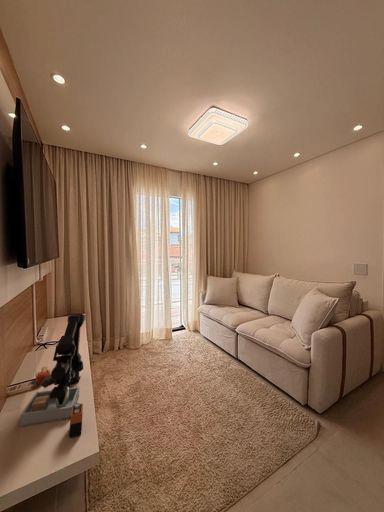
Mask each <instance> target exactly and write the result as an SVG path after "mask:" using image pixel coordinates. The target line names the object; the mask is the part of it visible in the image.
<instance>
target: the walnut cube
mask: <svg viewBox="0 0 384 512" xmlns="http://www.w3.org/2000/svg"><path fill="white" fill-rule="evenodd" d="M48 402H49V396H41V397H37V398H36V399H35V401H34V402H33V404H32V412H34V411H41V410H46V409H47V407H48Z"/></svg>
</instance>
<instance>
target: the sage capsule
mask: <svg viewBox="0 0 384 512" xmlns="http://www.w3.org/2000/svg"><path fill="white" fill-rule="evenodd" d="M67 390H68V392H67V394H66V396H65V399H64V401H63V403H62V405H59V402H58V399H56V407H58V408H61V407H64V406H66V405H67V404H68V398H69V387H68V389H67Z"/></svg>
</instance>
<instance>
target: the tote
mask: <svg viewBox="0 0 384 512" xmlns="http://www.w3.org/2000/svg"><path fill="white" fill-rule="evenodd" d="M51 391H52V389H51V390H42V391H36V392H35V393H34V395H33V396H32V397H31V399H30V401H29V402H28V403H27V405H26V406H25V408H24V409H23V411H22V412H21V413H20V418H19V427H25V426H32V425H38V424H42V423H49V422H50V423H51V422H57V421H63V420H64V421H65V420H70V416H71V409H72V406H73V405H75V404H76V403H77V402H78V401H79V397H80V387H79V386H77V387H70V388H69V398H68V404H67V405H66V406H64V407H61V408H58V407H56V399H57V398H52V399H50V398H49V402H48V407H47V409H46V410H41V411H34V412H32V404H33V402H34V401H35V399H36V398H37V397H41V396H49V397H50V392H51Z"/></svg>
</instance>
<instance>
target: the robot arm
mask: <svg viewBox="0 0 384 512" xmlns="http://www.w3.org/2000/svg"><path fill="white" fill-rule="evenodd" d="M85 320H86V314H84V313H82V312H81V313H80V312H79V313H78V312H77V313H71V314H70V315H67V321H66V322H67V324H66V325H67V326H66V328H65V331H64V335H63V337H62V338H60V339H59V342H58V343H57V345H55V350H54V353H53V354H54V355H53V359H52V361H53V362H56V364H55V365H54V367H53V369H52V370H51V371H50V375H49V376H47V377H45V378H44V380H43V381H42V384H41V387H43V389H47V388H48V387H50V386H53V385H54V387H53V388H52V389H51V390H52V391H51V390H50V391H51V392H50V397H49V398H50V399H52V398H57V399H58V402H59V405H62V403H63V401H64V399H65V396H66V394H67V392H68V390H67V389H68V387H69V388H71V385H72V384H79V382H80V380H81V377H82V376H80V372H82V370H84V362H83V360H82V356H81V353H79V352H80V342H81V340H80V339H81V327H83V325H84V323H85Z"/></svg>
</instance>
